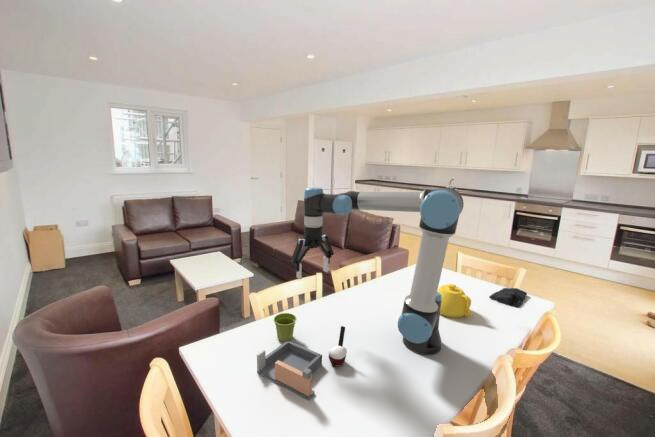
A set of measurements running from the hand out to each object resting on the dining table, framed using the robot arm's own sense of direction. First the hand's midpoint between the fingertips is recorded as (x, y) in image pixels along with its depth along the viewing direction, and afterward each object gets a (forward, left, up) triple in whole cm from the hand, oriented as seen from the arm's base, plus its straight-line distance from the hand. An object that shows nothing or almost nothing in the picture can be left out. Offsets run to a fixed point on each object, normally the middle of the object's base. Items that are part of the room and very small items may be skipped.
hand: (312, 274), depth 132 cm
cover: (-16, +33, -24) cm, 44 cm away
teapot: (-45, -54, -25) cm, 75 cm away
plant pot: (+5, +12, -25) cm, 28 cm away
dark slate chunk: (-71, -89, -26) cm, 116 cm away
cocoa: (-21, +13, -25) cm, 35 cm away
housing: (-12, +26, -25) cm, 38 cm away
